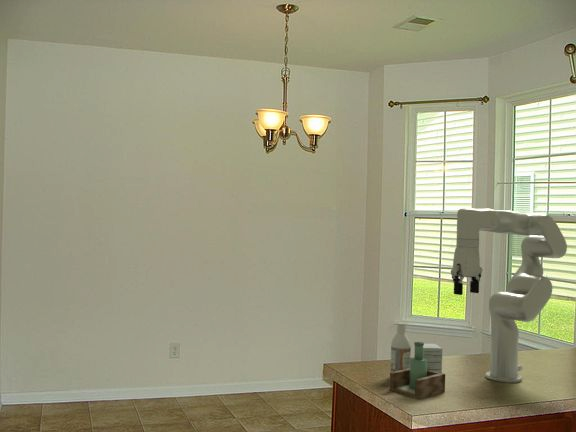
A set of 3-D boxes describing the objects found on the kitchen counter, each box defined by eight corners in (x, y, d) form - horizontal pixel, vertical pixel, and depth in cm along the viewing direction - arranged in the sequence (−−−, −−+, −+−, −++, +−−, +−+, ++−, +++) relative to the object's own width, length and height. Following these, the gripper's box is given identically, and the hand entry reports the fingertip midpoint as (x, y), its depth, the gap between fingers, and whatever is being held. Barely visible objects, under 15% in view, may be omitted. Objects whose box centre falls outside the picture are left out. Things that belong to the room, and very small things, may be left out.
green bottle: (416, 384, 208) (417, 340, 208) (429, 388, 204) (431, 343, 204) (405, 386, 205) (407, 342, 205) (419, 390, 200) (420, 345, 200)
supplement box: (415, 378, 221) (416, 343, 221) (435, 378, 222) (436, 343, 222) (421, 383, 214) (422, 347, 214) (442, 383, 214) (443, 347, 214)
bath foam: (399, 381, 215) (401, 325, 215) (386, 377, 221) (387, 322, 221) (413, 379, 219) (415, 323, 219) (400, 375, 225) (401, 320, 225)
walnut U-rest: (416, 383, 213) (416, 366, 213) (444, 392, 204) (445, 374, 204) (389, 390, 204) (390, 372, 204) (418, 399, 195) (419, 380, 195)
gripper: (472, 243, 219) (471, 291, 219) (443, 243, 208) (442, 294, 208) (491, 244, 214) (489, 293, 214) (462, 245, 203) (461, 296, 203)
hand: (466, 293), depth 211 cm, fingers open, 9 cm apart
